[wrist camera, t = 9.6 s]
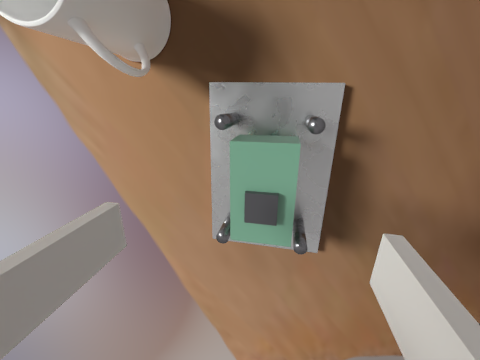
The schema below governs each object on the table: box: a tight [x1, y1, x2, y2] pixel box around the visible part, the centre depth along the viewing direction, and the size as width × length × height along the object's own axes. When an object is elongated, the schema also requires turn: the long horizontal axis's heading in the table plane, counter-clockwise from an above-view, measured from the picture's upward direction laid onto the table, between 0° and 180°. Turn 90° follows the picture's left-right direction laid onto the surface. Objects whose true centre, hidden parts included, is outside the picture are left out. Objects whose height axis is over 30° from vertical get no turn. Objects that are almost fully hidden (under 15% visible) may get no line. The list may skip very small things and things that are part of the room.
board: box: [230, 135, 301, 247], centre depth 22 cm, size 10×6×5 cm, turn 0°
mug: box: [0, 0, 171, 77], centre depth 19 cm, size 12×8×12 cm
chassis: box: [209, 82, 345, 254], centre depth 24 cm, size 20×14×6 cm
